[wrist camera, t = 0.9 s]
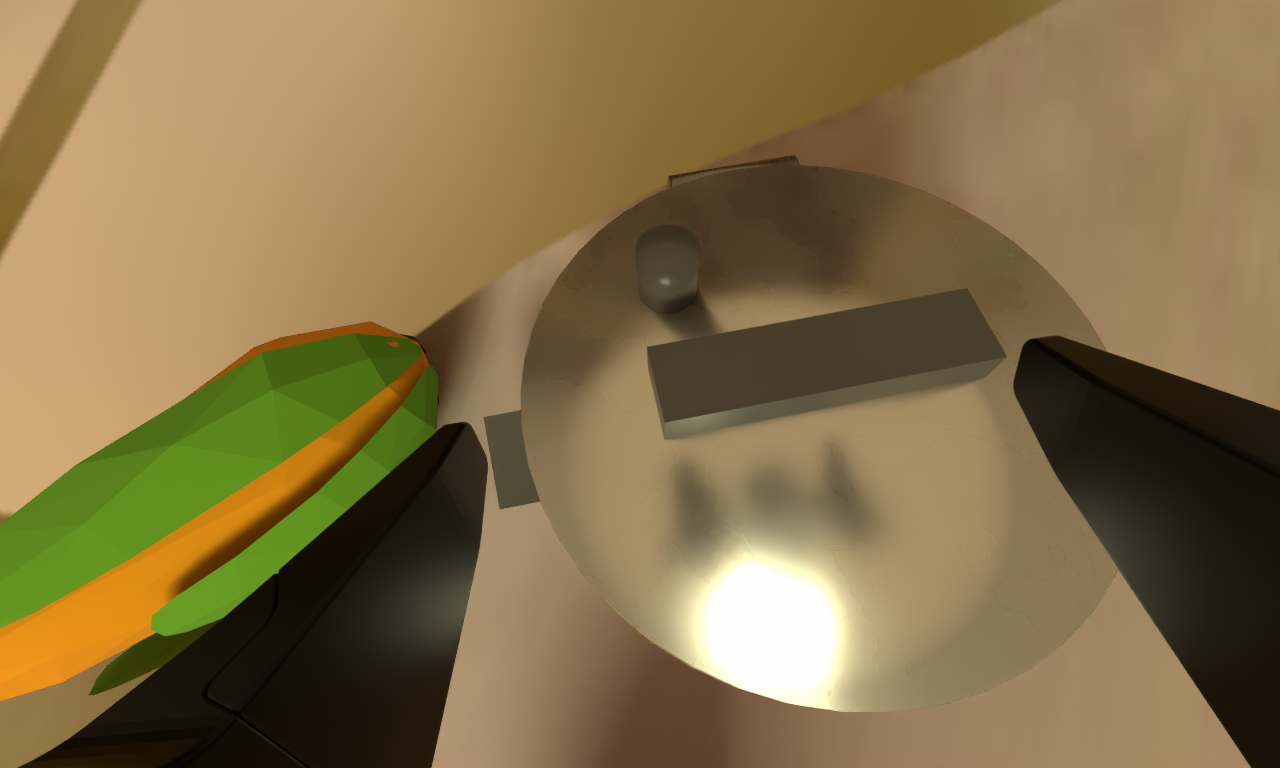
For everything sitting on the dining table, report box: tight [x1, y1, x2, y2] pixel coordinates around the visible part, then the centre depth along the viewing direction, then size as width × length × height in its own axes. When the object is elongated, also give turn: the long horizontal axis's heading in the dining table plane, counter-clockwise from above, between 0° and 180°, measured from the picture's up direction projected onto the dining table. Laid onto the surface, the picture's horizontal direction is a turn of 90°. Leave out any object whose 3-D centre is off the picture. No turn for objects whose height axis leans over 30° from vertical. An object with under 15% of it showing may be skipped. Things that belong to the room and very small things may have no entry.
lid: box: [521, 155, 1118, 712], centre depth 14 cm, size 15×15×3 cm
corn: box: [0, 322, 439, 701], centre depth 18 cm, size 7×8×20 cm
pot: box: [484, 410, 540, 509], centre depth 21 cm, size 14×18×5 cm
